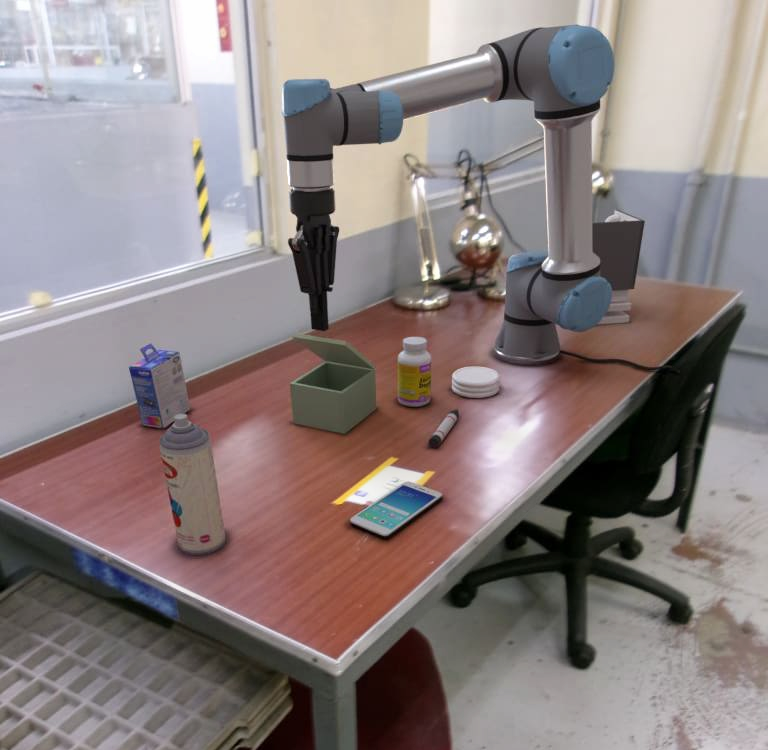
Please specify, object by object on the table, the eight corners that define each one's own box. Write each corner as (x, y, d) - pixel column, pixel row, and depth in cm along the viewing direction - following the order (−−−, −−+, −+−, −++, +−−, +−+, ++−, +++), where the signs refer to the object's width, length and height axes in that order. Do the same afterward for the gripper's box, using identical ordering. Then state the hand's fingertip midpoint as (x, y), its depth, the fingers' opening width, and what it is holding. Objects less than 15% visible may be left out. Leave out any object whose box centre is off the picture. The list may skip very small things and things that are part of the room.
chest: (344, 434, 140) (342, 393, 135) (293, 423, 144) (289, 383, 140) (376, 408, 149) (375, 369, 145) (327, 399, 154) (325, 361, 149)
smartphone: (347, 519, 112) (406, 480, 122) (347, 524, 112) (406, 484, 122) (386, 535, 108) (444, 493, 118) (386, 540, 109) (444, 498, 118)
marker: (438, 448, 134) (439, 438, 133) (428, 447, 134) (428, 437, 133) (462, 415, 146) (462, 406, 145) (452, 414, 146) (452, 404, 145)
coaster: (466, 377, 163) (467, 362, 161) (507, 387, 158) (508, 371, 156) (442, 392, 156) (443, 376, 154) (484, 403, 151) (485, 386, 149)
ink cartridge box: (168, 406, 152) (155, 337, 144) (191, 409, 150) (180, 339, 143) (139, 426, 144) (124, 354, 137) (164, 429, 143) (150, 356, 135)
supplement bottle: (420, 410, 148) (420, 348, 141) (391, 404, 151) (391, 342, 144) (436, 399, 153) (437, 338, 146) (408, 392, 156) (408, 332, 149)
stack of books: (628, 322, 194) (644, 220, 181) (558, 327, 191) (569, 224, 178) (604, 305, 207) (617, 209, 194) (538, 309, 205) (547, 213, 192)
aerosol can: (174, 535, 111) (150, 411, 100) (219, 525, 113) (200, 402, 103) (183, 559, 105) (158, 431, 95) (231, 548, 108) (212, 421, 97)
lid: (345, 345, 132) (346, 341, 132) (291, 336, 137) (292, 332, 137) (374, 369, 145) (376, 365, 145) (324, 361, 149) (325, 357, 149)
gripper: (313, 181, 128) (321, 316, 141) (269, 192, 119) (282, 336, 131) (351, 183, 125) (355, 321, 138) (309, 195, 116) (318, 342, 128)
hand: (320, 328), depth 134 cm, fingers closed
